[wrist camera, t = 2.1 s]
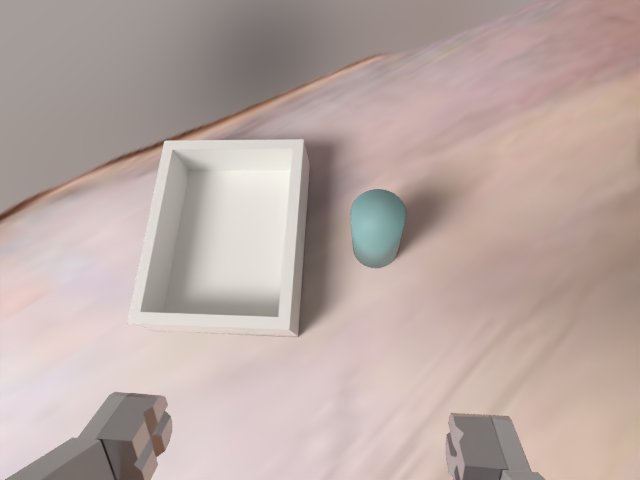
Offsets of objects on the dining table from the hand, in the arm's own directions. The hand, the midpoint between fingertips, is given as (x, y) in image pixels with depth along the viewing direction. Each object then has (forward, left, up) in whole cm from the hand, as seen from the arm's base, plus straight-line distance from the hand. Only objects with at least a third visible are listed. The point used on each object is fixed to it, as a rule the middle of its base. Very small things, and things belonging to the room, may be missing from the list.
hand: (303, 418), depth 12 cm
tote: (+11, -14, -26) cm, 32 cm away
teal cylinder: (-3, -14, -26) cm, 30 cm away
